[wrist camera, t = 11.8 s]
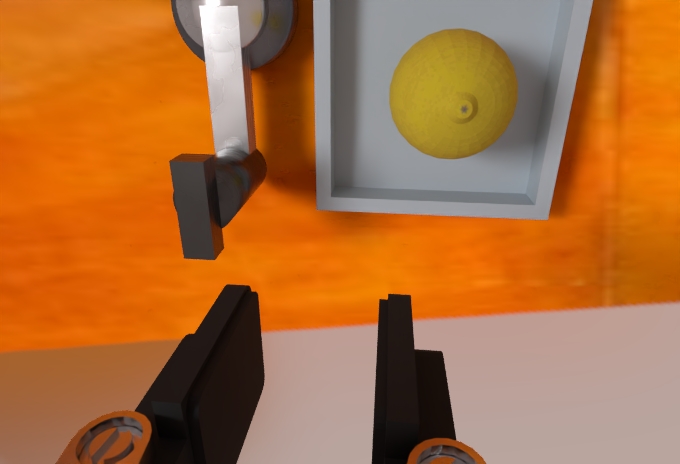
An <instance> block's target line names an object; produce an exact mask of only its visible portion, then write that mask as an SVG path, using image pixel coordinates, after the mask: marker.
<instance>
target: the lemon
mask: <svg viewBox="0 0 680 464" xmlns="http://www.w3.org/2000/svg"><path fill="white" fill-rule="evenodd" d="M517 101H518V82H517V78H516V73H515V69H514V66H513V64H512V63H511V61H510V59H509V57H508V56H507V54H506V52H505V51H504V50H503V49H502V48H501V47H500V46H499V45H498V44H497V43H496V42H495V41H494V40H493V39H491V38H489V37H487V36H485V35H483V34H481V33H479V32H477V31H472V30H467V29H462V28H458V29H445V30H441V31H438V32H435V33H433V34H430V35H427V36H426V37H424V38H423V39H421V40H420V41H418V42H417V43H415V44H414V45H413V46H412V47H411V48H410V49H409V50H408V51H407V52H406V53H405V54H404V55H403V56H402V58H401V60H400V62H399V63H398V65H397V67H396V69H395V70H394V74H393V77H392V81H391V84H390V93H389V105H390V109H391V114H392V119H393V121H394V123H395V125H396V127H397V129H398V131H399V133H400V134H401V135H402V136H403V137H404V138H405V139H406V141H407V142H408V143H409V144H410V145H411V146H413V147H414V148H416V149H417V150H419V151H420V152H422V153H424V154H427V155H429V156H432V157H435V158H440V159H460V158H466V157H470V156H472V155H474V154H477V153H479V152H482V151H483V150H485V149H486V148H488V147H489V146H490V145H492V144H493V143H495V142H496V141H497V139H498V138H499V137H500V136H501V135H502V134H503V133H504V132H505V130H506V129H507V127H508V125H509V123H510V121H511V120H512V118H513V116H514V112H515V108H516V105H517Z"/></svg>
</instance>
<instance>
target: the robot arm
mask: <svg viewBox="0 0 680 464" xmlns="http://www.w3.org/2000/svg"><path fill="white" fill-rule="evenodd" d="M263 386H264V363H263V350H262V338H261V325H260V313H259V300H258V294H257V292H252V291H251V288H250V286H247V285H230V284H228V285H226V286H225V287H224V289H223V290H222V292H221V293H220V295H219V296H218V298H217V299H216V301H215V302H214V304H213V306H212V307H211V309H210V310H209V312H208V313H207V315H206V316H205V318H204V320H203V321H202V323H201V324H200V326H199V327H198V329H197V330H196V332H195V334H188V335H186V336H185V337H184V338H183V339H182V341H181V342H180V344H179V345H178V347H177V348H176V350H175V352H174V353H173V354H172V356H171V358H170V359H169V360H168V362H167V363H166V365H165V366H164V368H163V369H162V371H161V372H160V374H159V375H158V377H157V378H156V380H155V381H154V383H153V384H152V386H151V387H150V389H149V390H148V392H147V393H146V395H145V396H144V398H143V399H142V401H141V402H140V404H139V405H138V407H137V408H136V410H135V411H118V412H112V413H109V414H106V415H103V416H101V417H99V418H97V419H95V420H93V421H91V422H89V423H88V424H87V425H86V426H84V427H83V428H82V429H80V430H79V431H78V433H77V434H76V435H75V436H74V437H73V438H72V439H71V441H70V442H69V444H68V446H67V447H66V449H65V450H64V452H63V453H62V455H61V456H60V458H59V459H58V461H57V462H56V464H236V463H237V460H238V457H239V455H240V452H241V449H242V446H243V443H244V440H245V438H246V435H247V432H248V430H249V427H250V424H251V421H252V418H253V415H254V413H255V410H256V407H257V404H258V401H259V399H260V396H261V393H262V390H263ZM374 407H375V408H374V428H373V449H372V464H486V463H485V461H484V460H483V458H482V457H481V456H480V455H479V454H478V453H477V452H476V451H475V450H473V449H472V448H471V447H469V446H467V445H465V444H463V443H462V442H459V441H456V435H455V429H454V422H453V415H452V409H451V403H450V397H449V390H448V383H447V377H446V371H445V364H444V358H443V353H442V352H441V351H431V350H415V349H414V337H413V321H412V307H411V295H399V294H388V300H385V299H380V300H379V321H378V342H377V364H376V385H375V406H374Z"/></svg>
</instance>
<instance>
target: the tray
mask: <svg viewBox="0 0 680 464" xmlns="http://www.w3.org/2000/svg"><path fill="white" fill-rule="evenodd" d="M592 4H593V0H313V20H314V79H315V138H316V196H317V210H328V211H351V212H374V213H398V214H421V215H444V216H468V217H491V218H514V219H538V220H548V216H549V211H550V207H551V202H552V197H553V192H554V187H555V182H556V178H557V173H558V168H559V163H560V158H561V154H562V149H563V144H564V139H565V134H566V129H567V125H568V120H569V115H570V110H571V105H572V100H573V96H574V91H575V86H576V81H577V76H578V71H579V67H580V62H581V57H582V52H583V47H584V43H585V38H586V33H587V28H588V23H589V18H590V14H591V9H592ZM458 28H462V29H467V30H472V31H477V32H479V33H481V34H483V35H485V36H487V37H489V38H491V39H493V40H494V41H495V42H496V43H497V44H498V45H499V46H500V47H501V48H502V49H503V50H504V51H505V52H506V54H507V56H508V57H509V59H510V61H511V63H512V64H513V66H514V69H515V73H516V78H517V82H518V101H517V105H516V108H515V112H514V116H513V118H512V120H511V121H510V123H509V125H508V127H507V129H506V130H505V132H504V133H503V134H502V135H501V136H500V137H499V138H498V139H497V141H496V142H495V143H493V144H492V145H490V146H489V147H488V148H486V149H485V150H483V151H482V152H479V153H477V154H474V155H472V156H470V157H466V158H460V159H440V158H435V157H432V156H429V155H427V154H424V153H422V152H420V151H419V150H417V149H416V148H414V147H413V146H411V145H410V144H409V143H408V142H407V141H406V139H405V138H404V137H403V136H402V135H401V134H400V133H399V131H398V129H397V127H396V125H395V123H394V121H393V119H392V114H391V109H390V105H389V93H390V84H391V81H392V77H393V74H394V70H395V69H396V67H397V65H398V63H399V62H400V60H401V58H402V56H403V55H404V54H405V53H406V52H407V51H408V50H409V49H410V48H411V47H412V46H413V45H414V44H415V43H417V42H418V41H420V40H421V39H423V38H424V37H426V36H427V35H430V34H433V33H435V32H438V31H441V30H445V29H458Z"/></svg>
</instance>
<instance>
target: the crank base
mask: <svg viewBox="0 0 680 464" xmlns="http://www.w3.org/2000/svg"><path fill="white" fill-rule="evenodd" d="M171 5H172V12H173V17H174V20H175V23H176V26H177V28H178V31H179V33H180V35H181V36H182V38H183V40H184V41H185V43H186V44H187V46H188V47H189V48H190V49H191V50H192V51H193V53H194V54H196V55H197V56H198V57H199V58H200V59H201V60H203V61H204V62H205V53H204V47H202V46H200V45H199V44H197V43H196V42H195V41H194V40H193V39H192V38H191V37H190V36H189V35H188V33H187V32H186V31H185V29H184V27H183V25H182V23H181V21H180V19H179V15H178V12H177V7H176V0H171ZM268 5H269V15H268V21H267V25H266V27H265V30H264V32H263V34H262V35H261V37H260V38H259V39H258V40H257V41H256V42H255V43H254V44H253V45H252V46H250V47H249V51H250V65H251V70H252V69H255V68H258V67H261V66H264V65H267V64H269V63H271V62H272V61H274V60H275V59H277V58H278V57H279V56H280V55H281V54H282V53H283V52H284V51H285V50H286V48H287V47H288V45H289V44H290V42H291V40H292V38H293V35H294V33H295V30H296V26H297V20H298V2H297V0H268Z"/></svg>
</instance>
